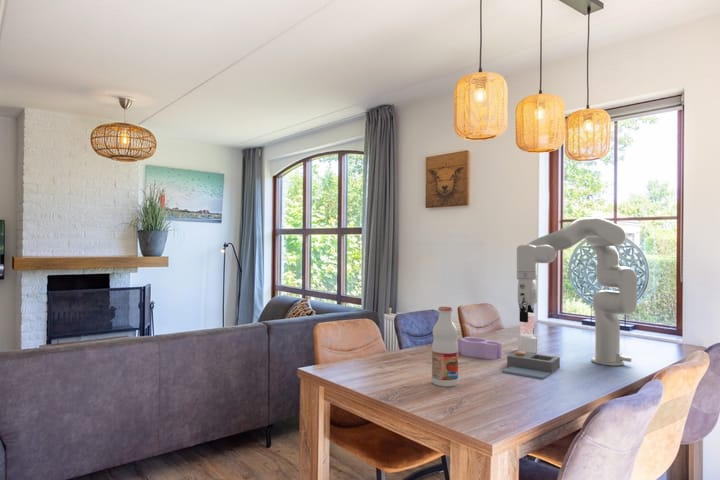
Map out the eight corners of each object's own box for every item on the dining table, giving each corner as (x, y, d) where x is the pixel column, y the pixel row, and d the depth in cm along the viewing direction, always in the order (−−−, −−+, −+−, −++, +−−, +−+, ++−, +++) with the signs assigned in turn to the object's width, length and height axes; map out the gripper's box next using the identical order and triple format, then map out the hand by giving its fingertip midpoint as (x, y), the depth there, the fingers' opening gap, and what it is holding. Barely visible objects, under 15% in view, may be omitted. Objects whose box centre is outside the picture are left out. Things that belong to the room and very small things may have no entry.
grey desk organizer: (559, 367, 197) (559, 357, 197) (551, 373, 187) (551, 362, 187) (517, 361, 208) (517, 351, 208) (507, 366, 198) (507, 355, 198)
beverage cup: (515, 334, 189) (515, 300, 190) (527, 333, 191) (527, 299, 192) (525, 337, 184) (525, 301, 184) (538, 336, 186) (538, 301, 186)
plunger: (526, 363, 201) (526, 351, 201) (523, 365, 198) (523, 353, 198) (517, 361, 203) (517, 350, 204) (514, 363, 200) (514, 351, 200)
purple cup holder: (506, 357, 216) (506, 342, 216) (491, 361, 208) (491, 345, 208) (468, 350, 231) (469, 336, 231) (454, 353, 222) (454, 339, 222)
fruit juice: (437, 378, 179) (437, 305, 180) (461, 382, 175) (461, 306, 175) (428, 384, 171) (428, 307, 171) (453, 388, 166) (453, 309, 167)
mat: (550, 374, 186) (550, 372, 186) (543, 379, 179) (543, 377, 179) (510, 368, 196) (510, 366, 196) (502, 372, 189) (502, 370, 189)
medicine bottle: (537, 353, 224) (537, 328, 224) (522, 353, 224) (522, 327, 224) (532, 350, 231) (532, 325, 231) (517, 349, 231) (517, 325, 231)
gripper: (529, 277, 179) (529, 324, 178) (542, 275, 192) (542, 319, 192) (509, 276, 183) (509, 322, 183) (524, 274, 197) (524, 317, 197)
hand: (526, 320), depth 188 cm, fingers closed on beverage cup, 6 cm apart
